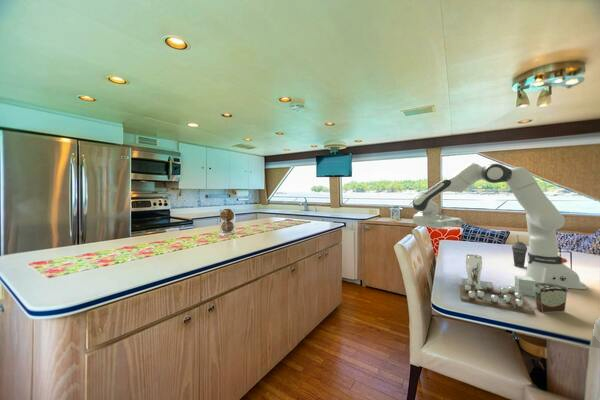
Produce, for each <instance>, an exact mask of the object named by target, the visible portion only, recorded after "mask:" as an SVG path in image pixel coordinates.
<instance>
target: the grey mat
mask: <svg viewBox="0 0 600 400" xmlns="http://www.w3.org/2000/svg"><path fill="white" fill-rule="evenodd" d="M461 279H462V285H467V278H465V277H462V278H461ZM480 283H481V285H482V288H486V289H487V283H491V284H493V282H492V281H491V282H490V281H485V280H480ZM473 287H475V286H473ZM493 290H496V288H495V287H494V285H493Z"/></svg>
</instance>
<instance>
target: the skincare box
mask: <svg viewBox="0 0 600 400" xmlns="http://www.w3.org/2000/svg"><path fill="white" fill-rule="evenodd" d="M535 283H537V282H536V281H535V280H533V279H532V278H531V277H526V276H525V275H514V287H515V292H516V293H521V294H522V295H523V296H529V297H536V296H535V291H534V290H533V286H534V285H535Z"/></svg>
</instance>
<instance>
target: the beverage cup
mask: <svg viewBox="0 0 600 400" xmlns="http://www.w3.org/2000/svg"><path fill="white" fill-rule="evenodd" d="M516 238H517V241H515V242H514V243H513V244H511V245H512V246H511V250H512V255H513V264H514V265H513V266H514V267H517V268H525V264H526V257H527V253H528V246H527V244H525V243H524V242H523V241H520V239H519V234H516Z"/></svg>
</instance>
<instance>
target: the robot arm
mask: <svg viewBox="0 0 600 400" xmlns="http://www.w3.org/2000/svg"><path fill="white" fill-rule="evenodd" d="M480 180H483V181H486V182H488V183H489V184H490V183H491V184H497V183H499V184H500V183H505V184H507V186H508V187H509V189H510V190H511V191H512V194H513V195H514V197H515V199H516V200H517V202H518V203H519V205H520V206H521V207H522V209H524V211H525V212H526V214H525V218H526V227H527V234H528V251H527V254H526V257H527V268H526V272H525V275H524V276H526V277H531V278H532V279H533V280H535V281H536V283H551V284H556V285H561V286H565V287H567V289H574V290H575V289H577V290H587V289H588V287H587V285H586V284H585V283H584V282H582V281H581V280H580V276H579V274H578V273H577V272H576V271H574V270H573V269H572V268H570V267H569V266H567V265H565V264H566V263H568V260H567V258H564V257H562V256H559V240H558V238H557V237H558V236H557V233H556V230H560V229H562V228H563V227H564V226H565V223H566V219H565V216H563V215H562V213H561V212H560V211H559V209H557V207H556V206H555V205H554V204H553V202H552V201H551V200H550V198H548V197H547V195H546V194H545V193H544V191H543V189H542V188H541V186H540V185H539V183H538V181H537V180H536V178H535V177H534V175H532V174H531V173H530V171H529V170H528V169H527V168H525V167H523V166H516V167H512V168H509V167H508V166H507V167H506V166H505V165H503V164H501V163H500V164H499V163H491V164H488V165H486V166H481V165H480V164H477V163H476V162H475V163H474V162H472V163H468V164H467V165H465V166H464V167H462V168H461V169H460V170H458V171H457V172H456V173H455V174H453V175H452V176H450V177H449V178H446V179H442V180H441V181H439V182H437V183H436V184H434V185H433V186H432V187H431V188H429V189H427V190H426V191H424V192H423V193H421V194H419V195H417V196H415V197H414V199H413V201H412V207H413V209H414V210H416V211H418V212H417V213H414V214H413V216H412V217H413V218H412V221H413V223H414V224H415V225H417V226H418V227H424V228H431V229H439V230H440V229H442V228H445V227H456V226H460V225H462V226H463V225H466V224H467V222H466V221H465V220H463V219H462V218H460V217H454V216H449V215H443V214H439V211H440V206H439V204H438V203H437V202H435V201H434V200H433V199H434V198H436V197H437V196H439V195H440V194H442V193H444V192H445V193H446V192H449V193H451V192H453V193H462V192H465V191H466V190H468V189H469V188H470V187H471V186H472V185H474V184H475V183H476V182H478V181H480Z"/></svg>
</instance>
